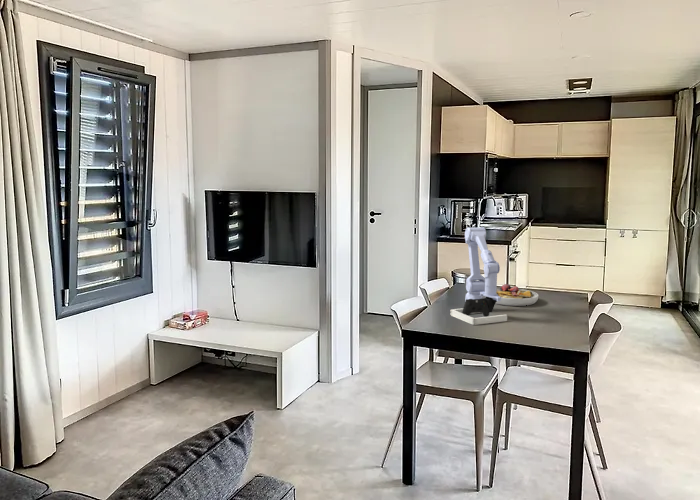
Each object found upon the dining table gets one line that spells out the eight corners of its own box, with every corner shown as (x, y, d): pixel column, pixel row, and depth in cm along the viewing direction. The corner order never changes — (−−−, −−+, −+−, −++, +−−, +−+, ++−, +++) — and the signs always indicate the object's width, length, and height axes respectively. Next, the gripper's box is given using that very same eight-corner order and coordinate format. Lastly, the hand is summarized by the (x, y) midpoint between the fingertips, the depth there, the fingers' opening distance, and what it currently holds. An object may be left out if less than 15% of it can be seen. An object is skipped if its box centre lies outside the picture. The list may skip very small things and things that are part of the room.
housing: (450, 315, 285) (450, 309, 284) (482, 311, 293) (482, 306, 292) (473, 324, 267) (473, 318, 266) (506, 320, 274) (507, 315, 274)
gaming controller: (464, 320, 276) (464, 300, 274) (460, 316, 282) (460, 297, 280) (491, 319, 278) (491, 299, 276) (486, 316, 284) (487, 296, 282)
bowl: (545, 307, 303) (546, 293, 302) (490, 307, 304) (491, 293, 303) (528, 296, 333) (529, 283, 332) (478, 295, 334) (479, 282, 332)
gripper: (506, 288, 275) (505, 314, 277) (488, 282, 288) (487, 308, 290) (494, 289, 272) (493, 316, 274) (477, 283, 286) (476, 309, 287)
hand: (489, 312), depth 282 cm, fingers closed
